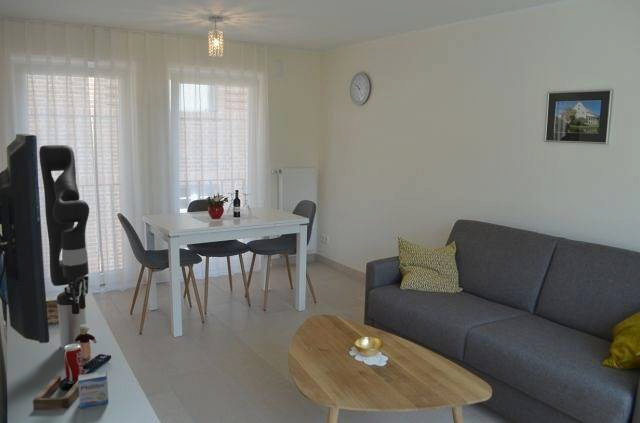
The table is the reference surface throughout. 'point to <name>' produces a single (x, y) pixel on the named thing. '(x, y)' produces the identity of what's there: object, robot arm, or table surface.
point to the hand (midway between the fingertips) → (79, 310)
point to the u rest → (55, 403)
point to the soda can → (73, 361)
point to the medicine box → (93, 389)
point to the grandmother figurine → (85, 341)
